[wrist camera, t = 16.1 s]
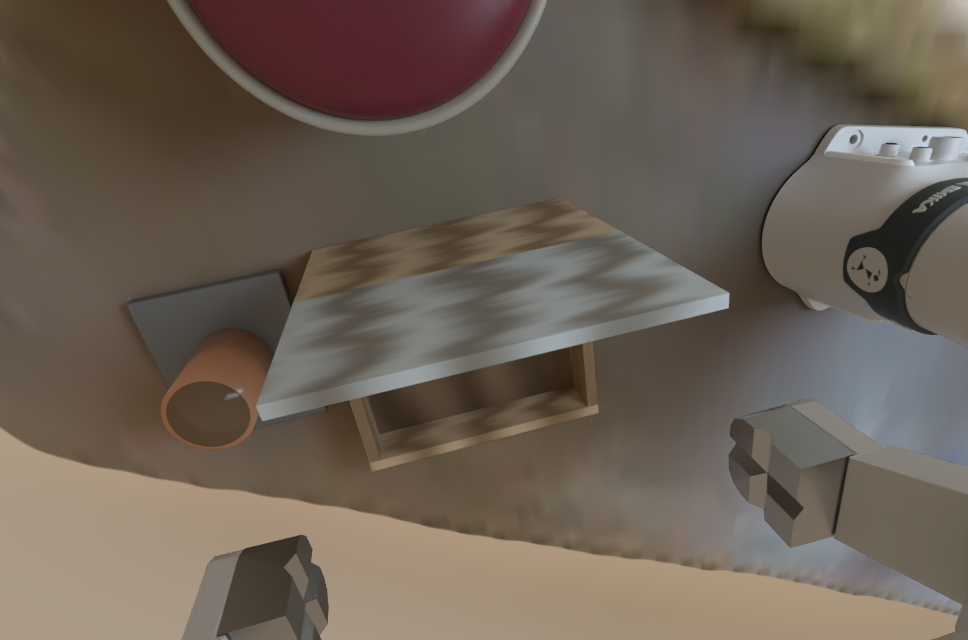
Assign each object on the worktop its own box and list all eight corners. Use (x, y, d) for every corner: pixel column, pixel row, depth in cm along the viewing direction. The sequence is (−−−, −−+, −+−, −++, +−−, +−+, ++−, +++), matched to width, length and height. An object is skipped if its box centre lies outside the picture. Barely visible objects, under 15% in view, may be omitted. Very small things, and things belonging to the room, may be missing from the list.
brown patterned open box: (562, 197, 46) (729, 292, 25) (579, 386, 55) (715, 579, 33) (312, 250, 44) (255, 406, 22) (372, 438, 52) (372, 683, 31)
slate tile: (280, 268, 44) (278, 272, 43) (327, 405, 50) (326, 411, 49) (131, 300, 42) (126, 304, 42) (198, 436, 48) (195, 443, 48)
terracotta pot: (259, 320, 44) (236, 367, 37) (285, 383, 47) (268, 438, 40) (182, 339, 44) (143, 390, 36) (213, 401, 46) (183, 460, 39)
